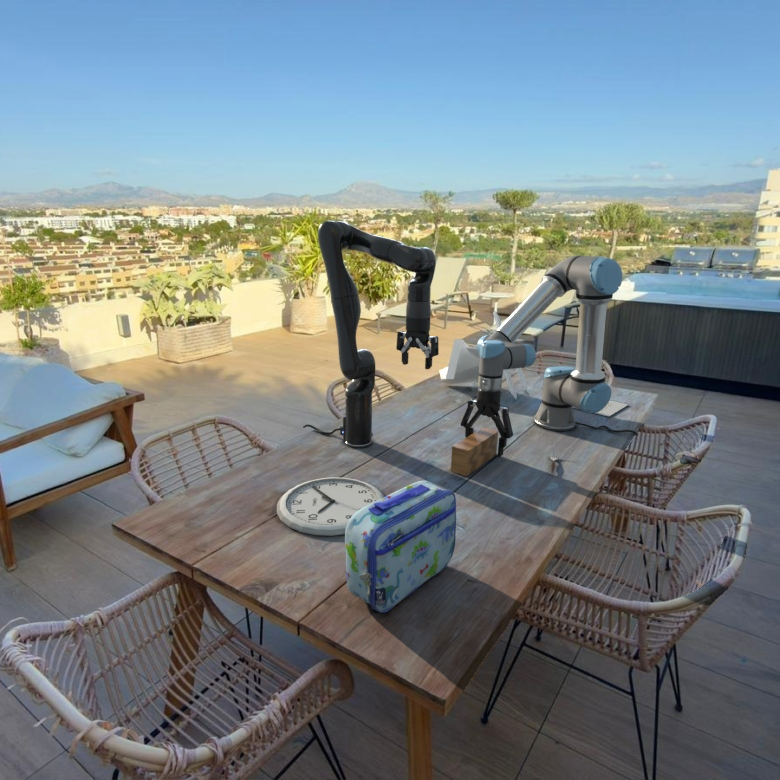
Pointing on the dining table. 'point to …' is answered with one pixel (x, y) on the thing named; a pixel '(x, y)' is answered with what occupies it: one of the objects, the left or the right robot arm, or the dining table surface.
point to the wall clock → (325, 504)
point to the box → (474, 451)
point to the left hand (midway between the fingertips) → (416, 366)
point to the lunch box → (399, 543)
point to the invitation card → (611, 408)
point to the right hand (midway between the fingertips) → (484, 451)
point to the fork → (554, 460)
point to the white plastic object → (473, 365)
